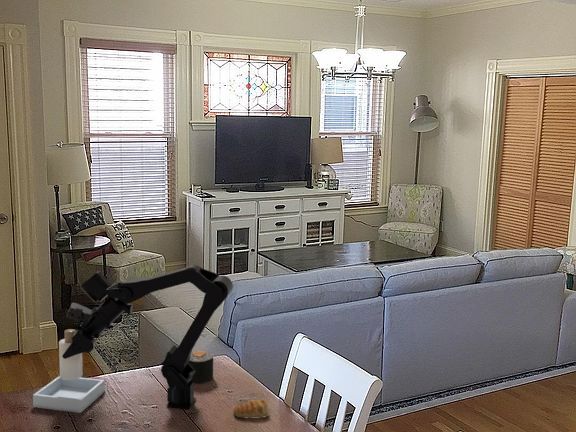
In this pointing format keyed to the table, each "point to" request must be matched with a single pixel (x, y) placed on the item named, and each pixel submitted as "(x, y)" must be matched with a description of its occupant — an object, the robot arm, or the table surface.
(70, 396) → the bin
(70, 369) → the dressing bottle
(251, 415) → the pastry
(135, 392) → the table surface
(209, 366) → the sushi
